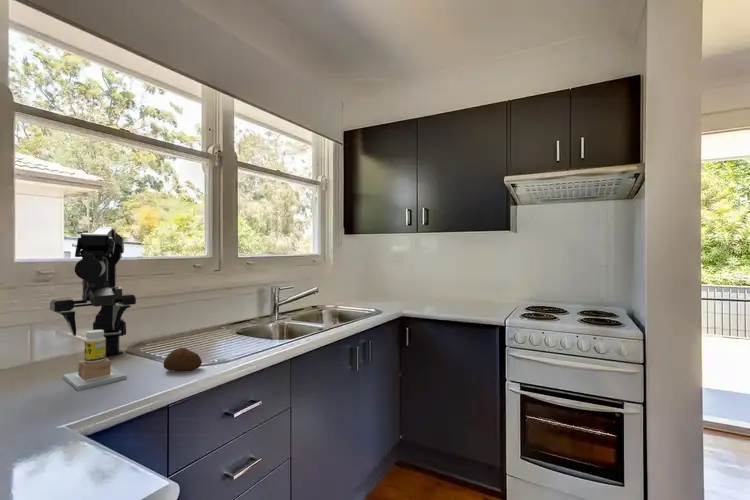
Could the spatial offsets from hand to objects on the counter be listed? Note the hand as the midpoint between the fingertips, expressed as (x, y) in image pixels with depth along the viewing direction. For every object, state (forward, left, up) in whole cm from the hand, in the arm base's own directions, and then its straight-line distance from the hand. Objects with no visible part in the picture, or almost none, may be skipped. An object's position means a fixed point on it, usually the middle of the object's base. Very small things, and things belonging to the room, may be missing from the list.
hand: (95, 332), depth 104 cm
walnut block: (0, 0, -12) cm, 12 cm away
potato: (+12, +19, -13) cm, 26 cm away
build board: (0, 0, -13) cm, 13 cm away
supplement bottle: (0, 0, -8) cm, 8 cm away
